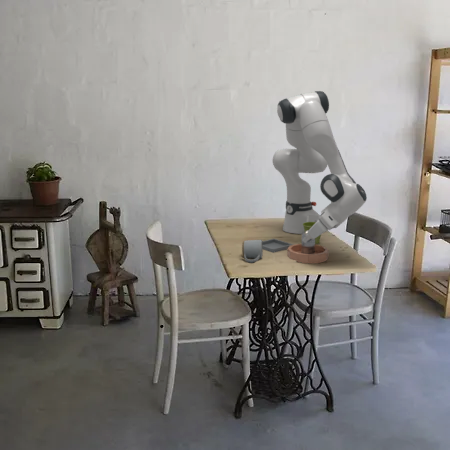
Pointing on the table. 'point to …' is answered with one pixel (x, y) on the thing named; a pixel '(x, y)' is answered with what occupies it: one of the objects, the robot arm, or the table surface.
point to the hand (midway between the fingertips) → (306, 238)
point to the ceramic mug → (252, 250)
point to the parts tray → (275, 245)
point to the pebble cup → (307, 245)
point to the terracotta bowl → (318, 257)
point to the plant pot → (307, 226)
